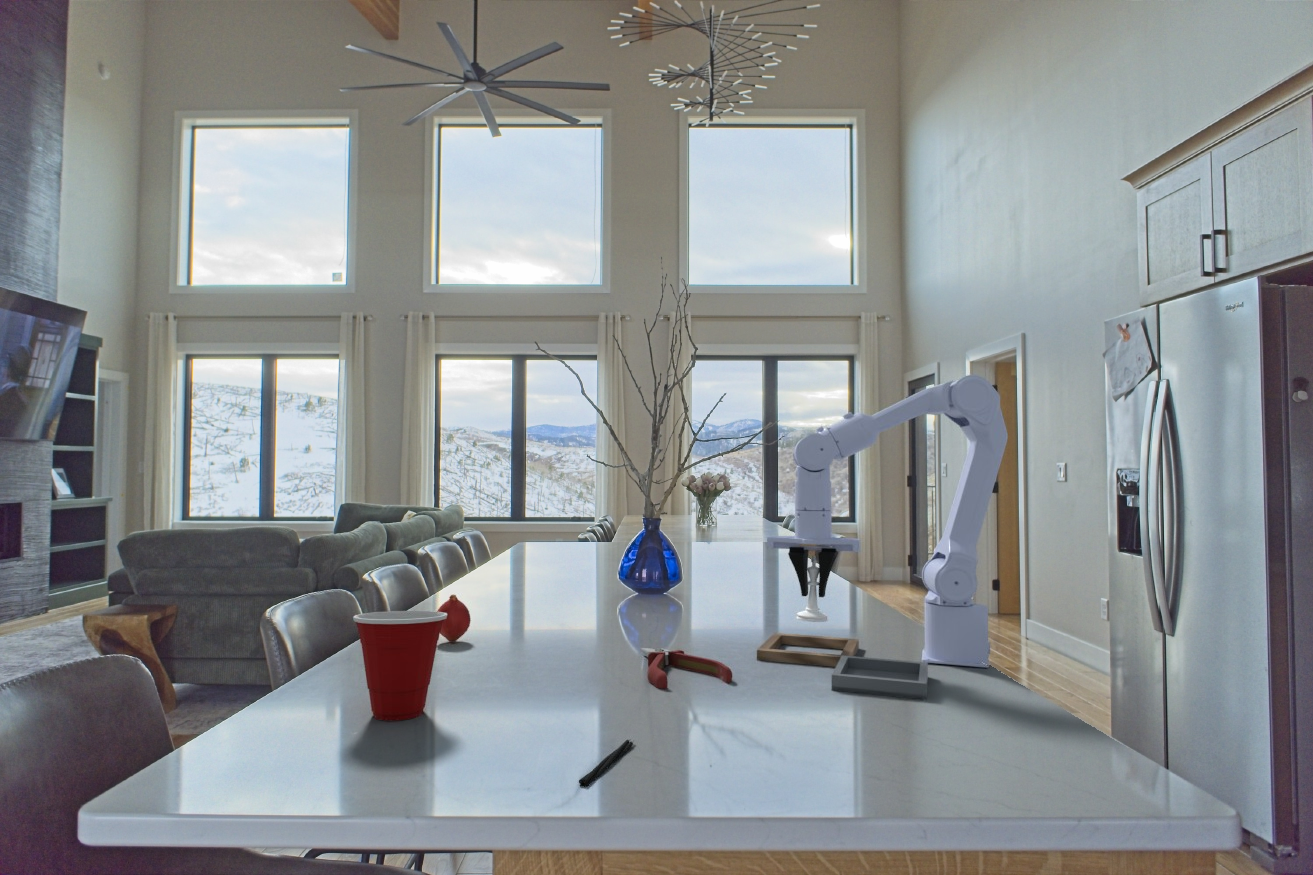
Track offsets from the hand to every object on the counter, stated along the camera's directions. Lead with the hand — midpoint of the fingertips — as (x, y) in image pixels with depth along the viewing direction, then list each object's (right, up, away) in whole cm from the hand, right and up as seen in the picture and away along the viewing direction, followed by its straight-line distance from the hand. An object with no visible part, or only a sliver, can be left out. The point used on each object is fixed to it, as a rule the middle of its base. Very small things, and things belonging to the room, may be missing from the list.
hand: (813, 595), depth 126 cm
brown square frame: (0, -9, +1) cm, 9 cm away
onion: (-59, -9, +7) cm, 60 cm away
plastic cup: (-56, -8, -32) cm, 64 cm away
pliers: (-21, -10, -10) cm, 25 cm away
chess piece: (0, -4, 0) cm, 4 cm away
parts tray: (+6, -9, -17) cm, 20 cm away
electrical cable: (-30, -8, -47) cm, 56 cm away
